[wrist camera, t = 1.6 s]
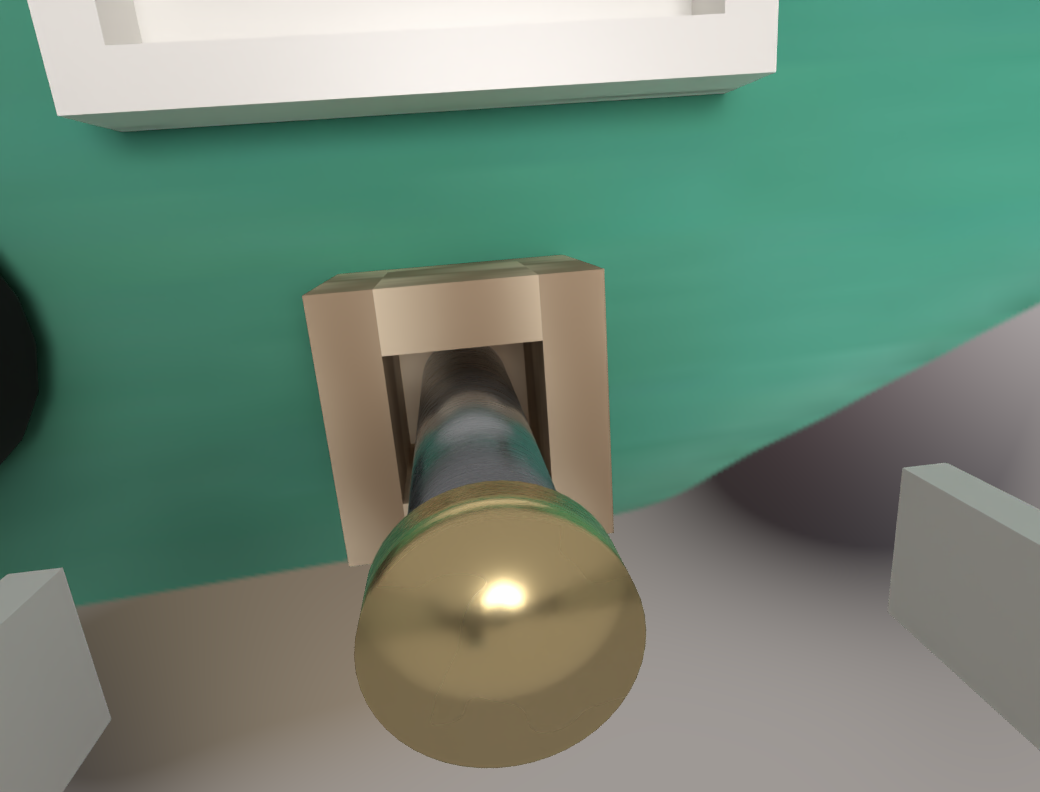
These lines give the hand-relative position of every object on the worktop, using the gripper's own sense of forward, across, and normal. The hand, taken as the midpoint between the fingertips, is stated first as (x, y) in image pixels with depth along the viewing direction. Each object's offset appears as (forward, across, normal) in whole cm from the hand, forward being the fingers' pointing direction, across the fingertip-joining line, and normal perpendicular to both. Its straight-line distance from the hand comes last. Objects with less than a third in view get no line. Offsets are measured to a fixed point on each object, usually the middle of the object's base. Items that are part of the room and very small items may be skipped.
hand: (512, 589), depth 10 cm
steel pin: (+13, 0, 0) cm, 13 cm away
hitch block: (+14, 0, 0) cm, 14 cm away
